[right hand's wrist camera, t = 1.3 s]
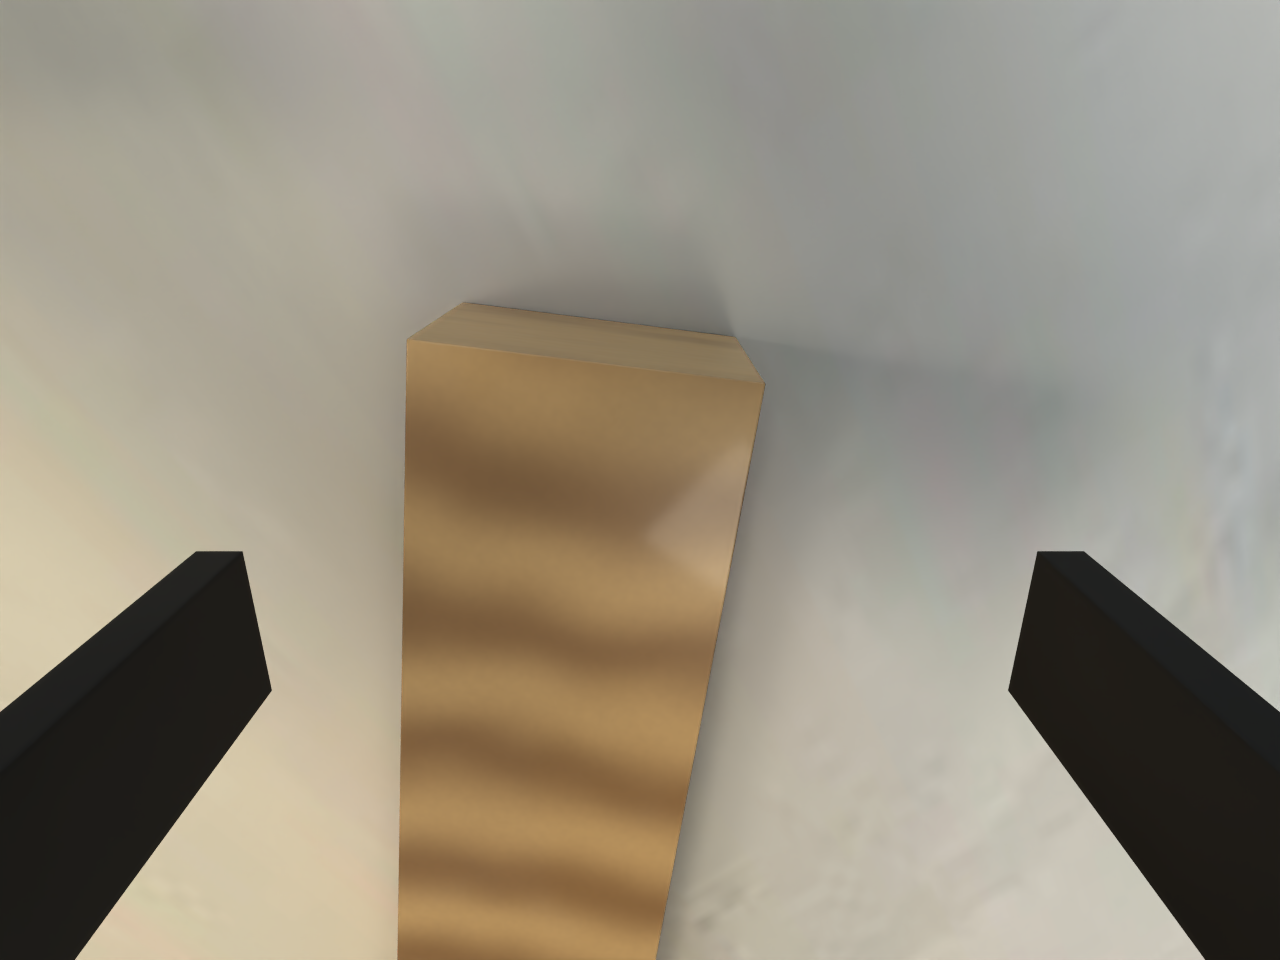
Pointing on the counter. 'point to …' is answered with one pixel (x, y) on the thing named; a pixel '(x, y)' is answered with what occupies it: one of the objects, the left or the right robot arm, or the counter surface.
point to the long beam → (558, 623)
